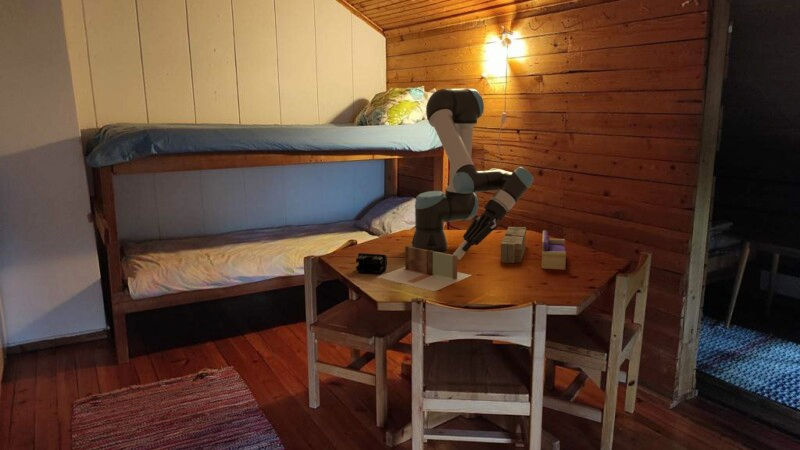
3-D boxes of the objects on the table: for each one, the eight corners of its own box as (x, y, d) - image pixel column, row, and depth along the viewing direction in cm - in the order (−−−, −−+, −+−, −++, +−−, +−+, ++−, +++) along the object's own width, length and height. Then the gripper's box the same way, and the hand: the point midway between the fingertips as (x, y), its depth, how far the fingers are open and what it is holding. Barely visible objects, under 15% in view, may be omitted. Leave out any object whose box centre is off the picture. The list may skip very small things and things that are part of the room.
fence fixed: (404, 269, 205) (403, 246, 203) (407, 268, 207) (407, 245, 205) (431, 275, 198) (431, 252, 196) (434, 274, 199) (434, 251, 197)
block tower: (520, 266, 213) (526, 245, 240) (521, 244, 211) (527, 226, 238) (499, 264, 215) (507, 244, 242) (500, 243, 213) (508, 225, 240)
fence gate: (432, 274, 197) (432, 252, 196) (434, 273, 199) (434, 251, 197) (455, 279, 191) (455, 256, 190) (458, 278, 193) (458, 255, 191)
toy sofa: (565, 270, 204) (567, 243, 201) (540, 269, 206) (542, 241, 204) (564, 255, 223) (565, 230, 221) (541, 254, 225) (542, 229, 223)
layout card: (376, 278, 197) (376, 276, 197) (415, 264, 213) (415, 262, 213) (434, 292, 181) (434, 291, 181) (471, 276, 198) (471, 274, 197)
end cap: (387, 270, 206) (387, 252, 204) (382, 276, 199) (381, 257, 198) (361, 269, 208) (360, 251, 207) (355, 274, 201) (354, 256, 200)
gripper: (515, 215, 193) (471, 268, 191) (496, 209, 205) (454, 259, 203) (502, 201, 190) (457, 254, 188) (483, 196, 202) (441, 246, 200)
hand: (456, 257), depth 195 cm, fingers closed
